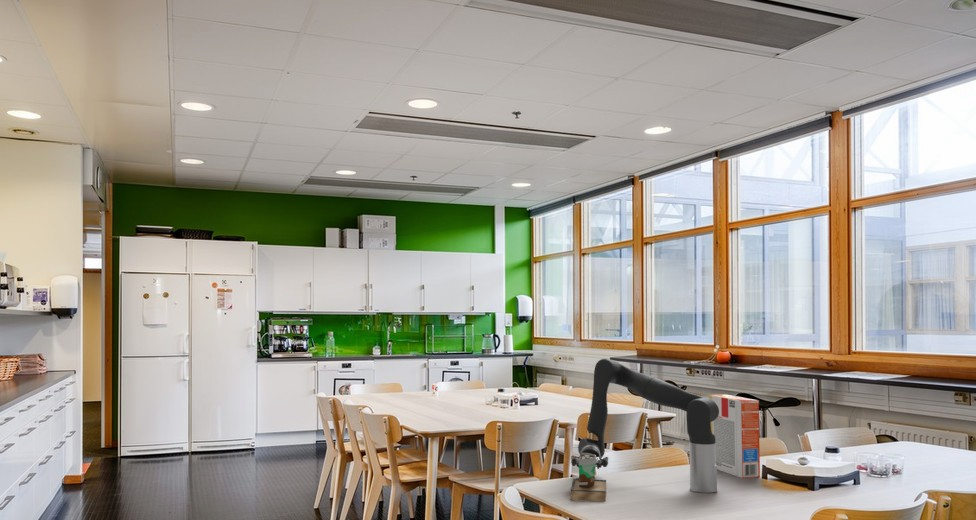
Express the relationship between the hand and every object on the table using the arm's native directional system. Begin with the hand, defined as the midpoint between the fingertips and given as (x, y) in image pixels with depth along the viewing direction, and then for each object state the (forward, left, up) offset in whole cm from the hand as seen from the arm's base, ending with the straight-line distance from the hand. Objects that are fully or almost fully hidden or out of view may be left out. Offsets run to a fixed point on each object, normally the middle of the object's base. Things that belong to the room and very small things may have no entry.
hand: (588, 465), depth 277 cm
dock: (0, 0, -10) cm, 10 cm away
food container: (0, 0, -7) cm, 7 cm away
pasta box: (-57, -50, -10) cm, 77 cm away
